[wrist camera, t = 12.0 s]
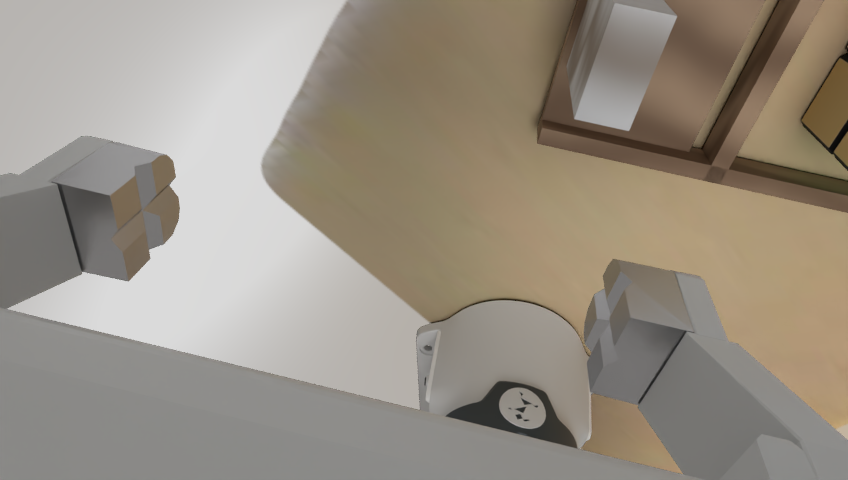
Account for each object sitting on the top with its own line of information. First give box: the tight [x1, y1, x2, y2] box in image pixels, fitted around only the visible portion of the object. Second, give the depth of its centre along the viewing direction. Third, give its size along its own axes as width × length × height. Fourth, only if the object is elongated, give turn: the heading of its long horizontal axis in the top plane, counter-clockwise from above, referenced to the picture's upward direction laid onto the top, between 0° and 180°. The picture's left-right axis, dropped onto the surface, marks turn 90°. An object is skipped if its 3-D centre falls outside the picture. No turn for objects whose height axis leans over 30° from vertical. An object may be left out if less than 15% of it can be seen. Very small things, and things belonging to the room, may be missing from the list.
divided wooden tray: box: [537, 0, 848, 213], centre depth 31 cm, size 16×28×10 cm, turn 80°
